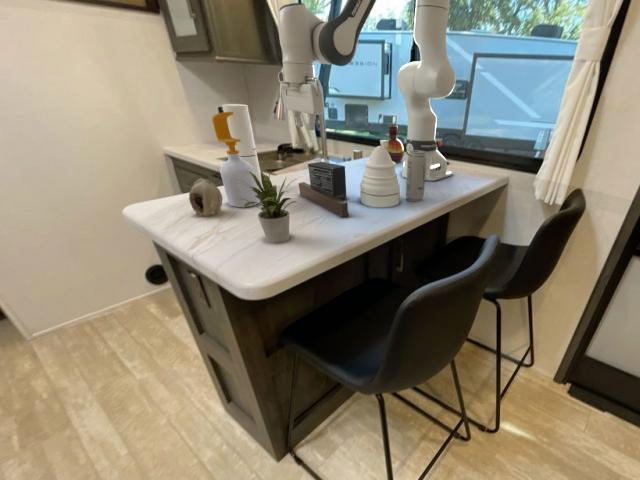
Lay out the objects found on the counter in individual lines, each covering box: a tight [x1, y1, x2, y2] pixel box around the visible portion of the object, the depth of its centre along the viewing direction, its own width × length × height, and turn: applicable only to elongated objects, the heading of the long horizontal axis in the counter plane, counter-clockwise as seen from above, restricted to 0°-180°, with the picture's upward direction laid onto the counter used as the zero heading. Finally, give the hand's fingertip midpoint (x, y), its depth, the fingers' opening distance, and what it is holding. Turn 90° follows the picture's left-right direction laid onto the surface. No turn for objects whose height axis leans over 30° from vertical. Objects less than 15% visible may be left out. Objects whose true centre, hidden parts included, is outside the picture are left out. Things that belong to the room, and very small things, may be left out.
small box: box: [307, 161, 348, 201], centre depth 105 cm, size 11×6×10 cm, turn 58°
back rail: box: [298, 181, 349, 218], centre depth 100 cm, size 2×26×4 cm, turn 41°
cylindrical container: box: [221, 103, 264, 190], centre depth 107 cm, size 7×7×25 cm
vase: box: [385, 124, 405, 164], centre depth 155 cm, size 11×11×15 cm
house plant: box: [234, 169, 299, 244], centre depth 75 cm, size 14×14×16 cm
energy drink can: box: [405, 150, 427, 202], centre depth 106 cm, size 6×6×15 cm
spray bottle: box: [211, 111, 261, 208], centre depth 93 cm, size 9×9×25 cm
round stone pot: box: [188, 177, 223, 217], centre depth 90 cm, size 9×8×10 cm
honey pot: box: [359, 139, 401, 208], centre depth 102 cm, size 13×13×18 cm
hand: (305, 128), depth 104 cm, fingers open, 6 cm apart
